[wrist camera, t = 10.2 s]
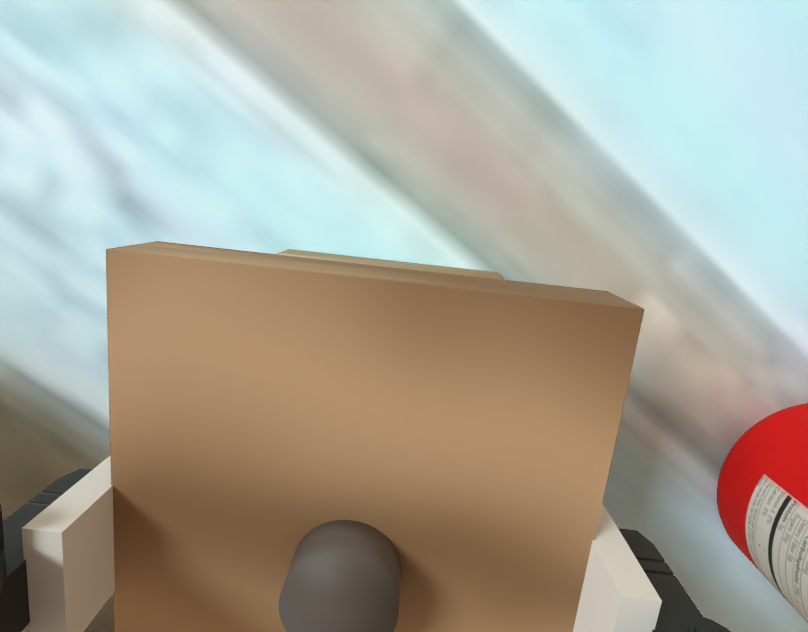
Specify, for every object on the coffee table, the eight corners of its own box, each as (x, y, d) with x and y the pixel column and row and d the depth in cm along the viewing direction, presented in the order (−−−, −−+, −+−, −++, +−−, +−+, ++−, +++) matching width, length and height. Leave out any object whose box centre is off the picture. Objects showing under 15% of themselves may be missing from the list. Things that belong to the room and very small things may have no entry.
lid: (519, 734, 15) (546, 877, 12) (157, 692, 15) (86, 824, 12) (607, 291, 12) (674, 324, 9) (157, 241, 12) (64, 255, 9)
